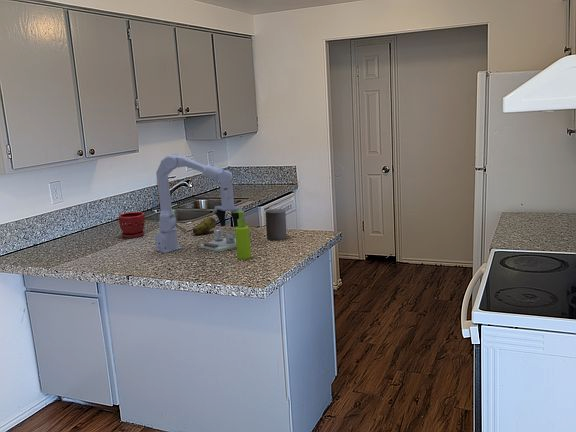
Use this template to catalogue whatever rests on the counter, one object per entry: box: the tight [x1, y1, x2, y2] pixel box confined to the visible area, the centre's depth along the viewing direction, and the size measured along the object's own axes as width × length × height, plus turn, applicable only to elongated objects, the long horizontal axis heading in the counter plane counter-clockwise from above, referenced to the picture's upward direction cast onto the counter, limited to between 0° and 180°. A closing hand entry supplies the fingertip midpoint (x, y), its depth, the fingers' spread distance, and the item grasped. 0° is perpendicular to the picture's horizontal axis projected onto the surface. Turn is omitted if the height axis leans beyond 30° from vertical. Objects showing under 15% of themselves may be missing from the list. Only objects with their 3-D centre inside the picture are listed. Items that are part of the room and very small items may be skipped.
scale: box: [198, 237, 237, 253], centre depth 259 cm, size 16×15×2 cm
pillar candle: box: [264, 208, 288, 242], centre depth 265 cm, size 10×10×15 cm
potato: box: [192, 216, 217, 236], centre depth 288 cm, size 8×13×8 cm, turn 110°
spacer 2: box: [224, 230, 236, 244], centre depth 255 cm, size 4×4×5 cm
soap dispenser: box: [232, 210, 252, 260], centre depth 234 cm, size 6×7×20 cm
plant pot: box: [118, 211, 146, 239], centre depth 291 cm, size 13×13×12 cm
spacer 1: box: [213, 228, 224, 241], centre depth 262 cm, size 4×4×5 cm
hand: (229, 226), depth 255 cm, fingers open, 7 cm apart
